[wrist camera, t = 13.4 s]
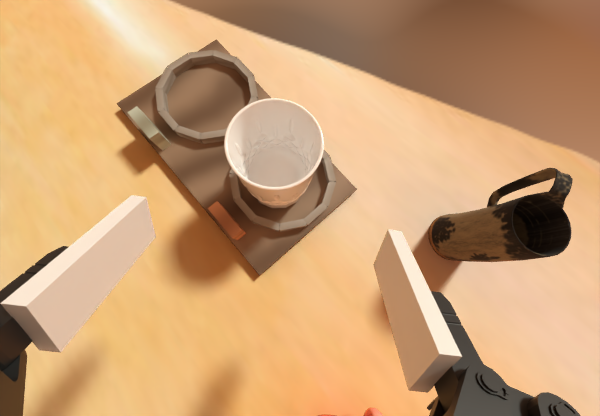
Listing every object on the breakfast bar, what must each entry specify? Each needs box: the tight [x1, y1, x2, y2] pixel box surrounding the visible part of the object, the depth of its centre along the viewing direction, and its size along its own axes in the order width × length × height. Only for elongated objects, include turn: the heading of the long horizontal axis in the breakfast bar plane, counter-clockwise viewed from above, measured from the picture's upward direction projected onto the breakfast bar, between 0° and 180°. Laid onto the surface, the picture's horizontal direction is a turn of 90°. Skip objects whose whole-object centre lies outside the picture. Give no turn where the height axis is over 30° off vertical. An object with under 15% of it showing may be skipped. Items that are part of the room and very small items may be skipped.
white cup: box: [224, 98, 324, 208], centre depth 25 cm, size 8×8×10 cm
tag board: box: [117, 40, 357, 275], centre depth 29 cm, size 27×15×4 cm, turn 42°
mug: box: [429, 168, 572, 262], centre depth 25 cm, size 8×6×12 cm
